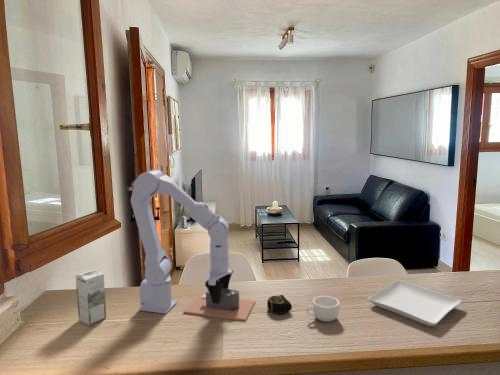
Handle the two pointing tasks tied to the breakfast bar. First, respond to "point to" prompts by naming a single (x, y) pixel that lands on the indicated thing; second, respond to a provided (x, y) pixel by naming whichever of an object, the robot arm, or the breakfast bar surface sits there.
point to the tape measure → (278, 304)
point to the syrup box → (91, 297)
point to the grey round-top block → (224, 300)
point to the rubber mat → (200, 309)
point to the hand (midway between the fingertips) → (220, 297)
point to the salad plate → (414, 302)
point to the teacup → (325, 308)
